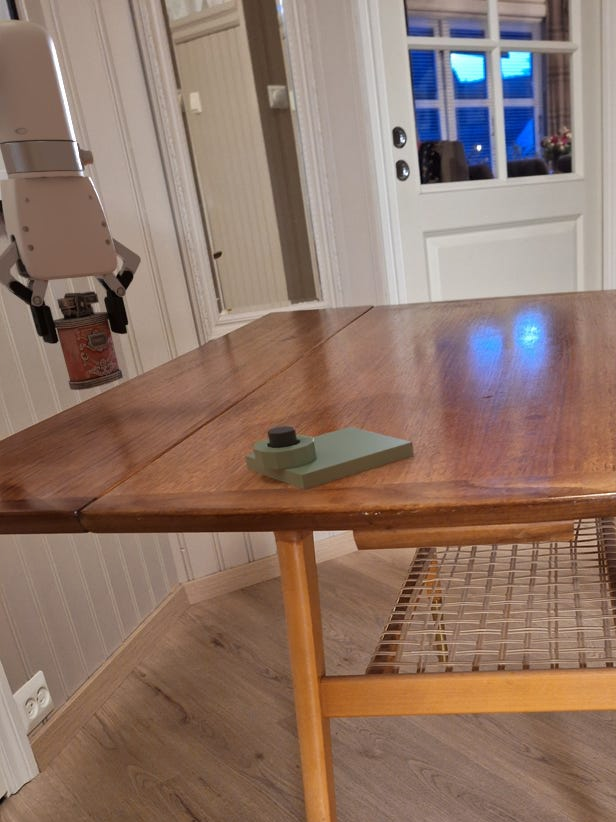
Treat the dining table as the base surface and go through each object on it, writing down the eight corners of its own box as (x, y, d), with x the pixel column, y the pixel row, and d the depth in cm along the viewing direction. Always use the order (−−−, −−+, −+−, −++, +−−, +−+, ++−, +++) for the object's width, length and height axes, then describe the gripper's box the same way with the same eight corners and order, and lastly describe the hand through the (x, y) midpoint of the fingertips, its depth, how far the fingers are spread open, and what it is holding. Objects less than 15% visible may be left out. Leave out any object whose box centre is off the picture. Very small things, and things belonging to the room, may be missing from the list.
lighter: (88, 390, 99) (65, 296, 94) (63, 390, 100) (38, 297, 95) (129, 376, 106) (109, 288, 101) (105, 376, 106) (84, 289, 102)
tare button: (279, 452, 76) (276, 434, 75) (265, 447, 77) (262, 430, 77) (302, 445, 77) (300, 428, 76) (288, 441, 79) (285, 424, 78)
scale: (293, 494, 74) (287, 459, 72) (236, 473, 80) (229, 441, 79) (414, 456, 81) (410, 424, 80) (352, 440, 88) (348, 410, 86)
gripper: (110, 164, 100) (145, 326, 108) (-56, 167, 90) (-3, 346, 98) (136, 159, 95) (171, 330, 103) (-36, 163, 85) (17, 351, 93)
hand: (86, 336), depth 100 cm, fingers closed on lighter, 7 cm apart
